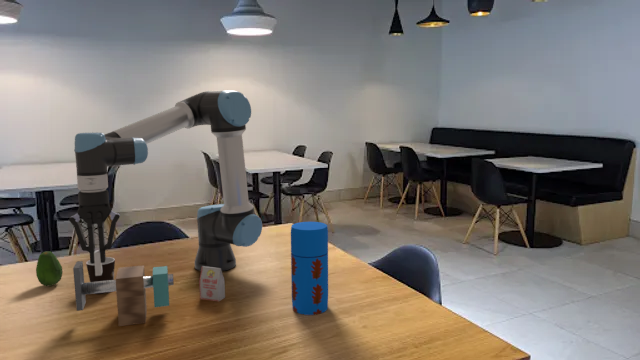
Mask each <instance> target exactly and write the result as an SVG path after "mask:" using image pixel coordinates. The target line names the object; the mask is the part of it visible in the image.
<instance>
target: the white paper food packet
mask: <svg viewBox="0 0 640 360" xmlns="http://www.w3.org/2000/svg"><path fill="white" fill-rule="evenodd" d="M198 282H199V285H198V286H199V299H200V300H207V301H214V302H220V301H222V300H224V299H225V298H226V287H225V284H226V283H225V277H224V274H223V271H221V268H214V267H205V266H202V267H201V271H200V275H199V280H198Z"/></svg>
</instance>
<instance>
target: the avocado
mask: <svg viewBox="0 0 640 360" xmlns="http://www.w3.org/2000/svg"><path fill="white" fill-rule="evenodd" d="M35 273H36V278H37V280H38V282H39V283H40V284H41V285H42V286H45V287H52V286H55V285H56V284H58V283H59V282H60V281H61V280H62V276H63V266H62V265H61V262H60V261H59V259H58V258H57V256H56V255H55V254H54V253H53V252H52V251H51V250H50V251H46V250H45V251H43V252H41V253H40V254H39V255H38V259H37V262H36V266H35Z"/></svg>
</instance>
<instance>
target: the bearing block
mask: <svg viewBox="0 0 640 360" xmlns="http://www.w3.org/2000/svg"><path fill="white" fill-rule="evenodd" d="M144 277H146V274H145V265H135V266H134V265H133V266H124V267H118V268H117V272H116V276H115V280H116V291H115V292H116V304H117V307H116V308H117V318H118V319H117V320H118V327H122V326H123V327H124V326H130V325H131V326H132V325H138V324H146V323H147V309H148V308H147V307H148V306H147V293H146V289H147V288H144Z"/></svg>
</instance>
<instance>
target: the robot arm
mask: <svg viewBox="0 0 640 360" xmlns="http://www.w3.org/2000/svg"><path fill="white" fill-rule="evenodd" d="M251 116H252V107H251V104H250V101H249V100H248V98H247V96H246V95H244V94H243V93H242V92H240V91H237V90H230V89H226V90H224V89H223V90H207V91H206V90H205V91H202V92H199V93H196V94H193V95H191V96H189V97H187V98H185V99H183V100H180V101H177V102H175V105H174V106H173V107H171V108H168V109H166V110H163V111H160V112H158V113H156V114H153V115H151V116H148V117H146V118H143V119H140V120H139V121H136V122H133V123H131V124H128V125H125V126H123V127H120V128H118V129H115V130H113V131H111V132H107V133H104V132H97V131H96V132H79V133H77V134H76V135H75V136H74V155H75V165H76V180H77V189H78V190H79V191H78V193H77V194H78V195H77V196H78V197H77V198H78V209H77V211H76V213H75V214H73V215H71V216H70V217H69V218H68V221H69V222H70V223H71V225H72V226H73V228H74V231H75V234H76V237H77V239H78V241H79V245H80V247H81V251H83V252H88V253H89V260H90V262H91V264H93V263H95V276H100V275H102V263H104V262H105V260H106V257H107V256H106V251H107V250H110V249H111V248H112V245H113V241H114V237H115V232H116V226H117V222H118V220H119V219H120V217H121V213H119V212H118V213H117V212H115V211H113V210H112V206H110V197H109V195H110V194H109V190H108V188H109V182H108V181H109V178H108V177H109V176H108V167H115V166H116V167H117V166H126V165H127V166H128V165H134V166H135V165H137V164H143V163H144V162H145V161H147V159H148V155H149V152H148V151H149V148H148V147H149V146H148V144H149V143H152V142H154V141H156V140H159V139H161V138H163V137H166V136H168V135H170V134H173V133H175V132H177V131H180V130H182V129H187V130H188V129H189V130H190V129H191V128H194V127H198V126H206V125H207V126H210V131H211V133H212V134H213V135H214V136H215V137H216V143H217V153H218V163H219V171H220V180H221V187H222V189H221V190H222V197H223V203H219V204H210V205H206V206H202V207H199V208H198V209H197V215H196V216H197V217H196V221H197V223H196V224H197V238H198V248H197V250H196V251H197V252H196V255H195V259H194V269H196V270H197V271H200V272H201V267H202V266H205V267H214V268H221V271H222V272H224V271H228V270H231V269H233V268H234V267H236V265H237V262H236V261H237V260H236V256H235V254H234V251H233V248H232V245H234V246H236V247H244V248H245V247H246V248H247V247H248V248H249V247H251V246H253V245H254V244H255V243H257V241H258V240H259V237H260V236H261V235H262V230H263V222H262V218H261V217H260V216H259V215H257V214H255V209H254V208H255V207H254V205H253V204H252V203H251V202H250V201H249V192H248V191H249V190H248V180H247V171H246V162H245V152H244V151H245V149H244V144H243V143H244V142H243V134H244V133H245V131H246V130H247V127H246V125H247V124H248V122H249V121H250V118H251ZM109 216H110V220H111V222H110V227H109V231H108V237H107V242H106V239H105V237H106V236H105V226H104V225H105V222H106V221H107V219H108V217H109ZM80 218H81V219H82V220H83V221H84V223H85V224H86V227H87V237H88V238H87V239H88V243H87V239H86V237H85V234H84V231H83V228H82V226H81V222H80V220H81V219H80ZM95 224H96V225H97V232H98V235H97V236H98V246H99V247H98V249H97V250H96V243H95V239H96V238H95Z"/></svg>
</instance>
